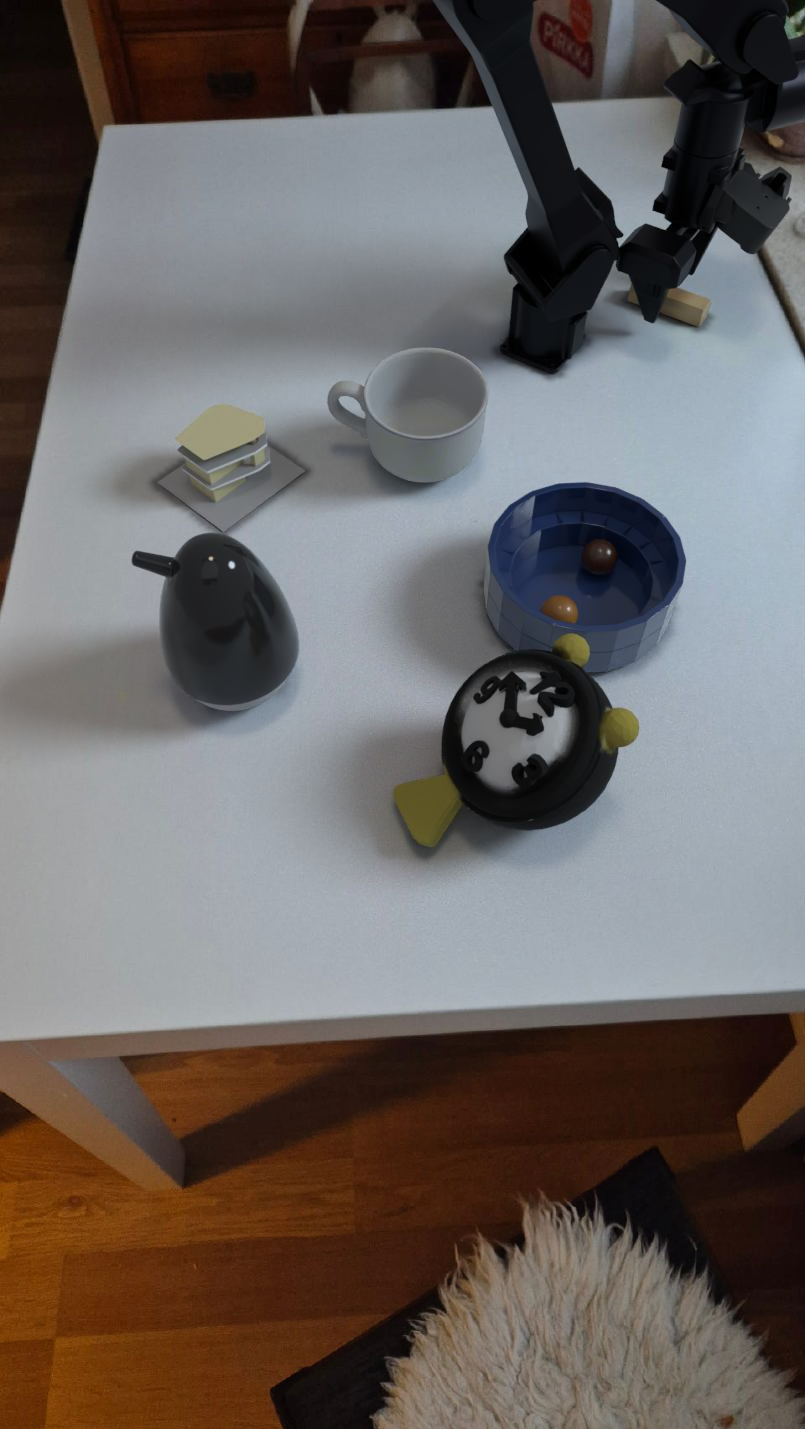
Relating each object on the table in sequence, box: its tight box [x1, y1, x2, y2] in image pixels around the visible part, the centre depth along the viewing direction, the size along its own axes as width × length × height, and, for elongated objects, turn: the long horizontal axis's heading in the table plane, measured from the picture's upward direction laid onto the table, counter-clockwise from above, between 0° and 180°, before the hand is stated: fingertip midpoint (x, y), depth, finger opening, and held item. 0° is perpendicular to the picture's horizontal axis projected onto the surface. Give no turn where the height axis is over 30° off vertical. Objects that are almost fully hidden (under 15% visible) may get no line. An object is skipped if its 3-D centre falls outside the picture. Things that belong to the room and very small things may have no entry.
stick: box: [627, 283, 712, 328], centre depth 103 cm, size 8×2×2 cm, turn 57°
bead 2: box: [581, 539, 618, 576], centre depth 83 cm, size 3×3×3 cm
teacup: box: [326, 346, 489, 483], centre depth 89 cm, size 14×11×8 cm
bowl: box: [483, 481, 687, 673], centre depth 81 cm, size 15×15×6 cm
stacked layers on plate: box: [157, 403, 306, 533], centre depth 89 cm, size 10×9×6 cm
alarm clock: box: [392, 633, 640, 848], centre depth 70 cm, size 12×15×15 cm
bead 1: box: [540, 595, 578, 624], centre depth 80 cm, size 3×3×3 cm
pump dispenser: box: [130, 532, 300, 712], centre depth 73 cm, size 10×10×15 cm
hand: (669, 297), depth 102 cm, fingers open, 9 cm apart
